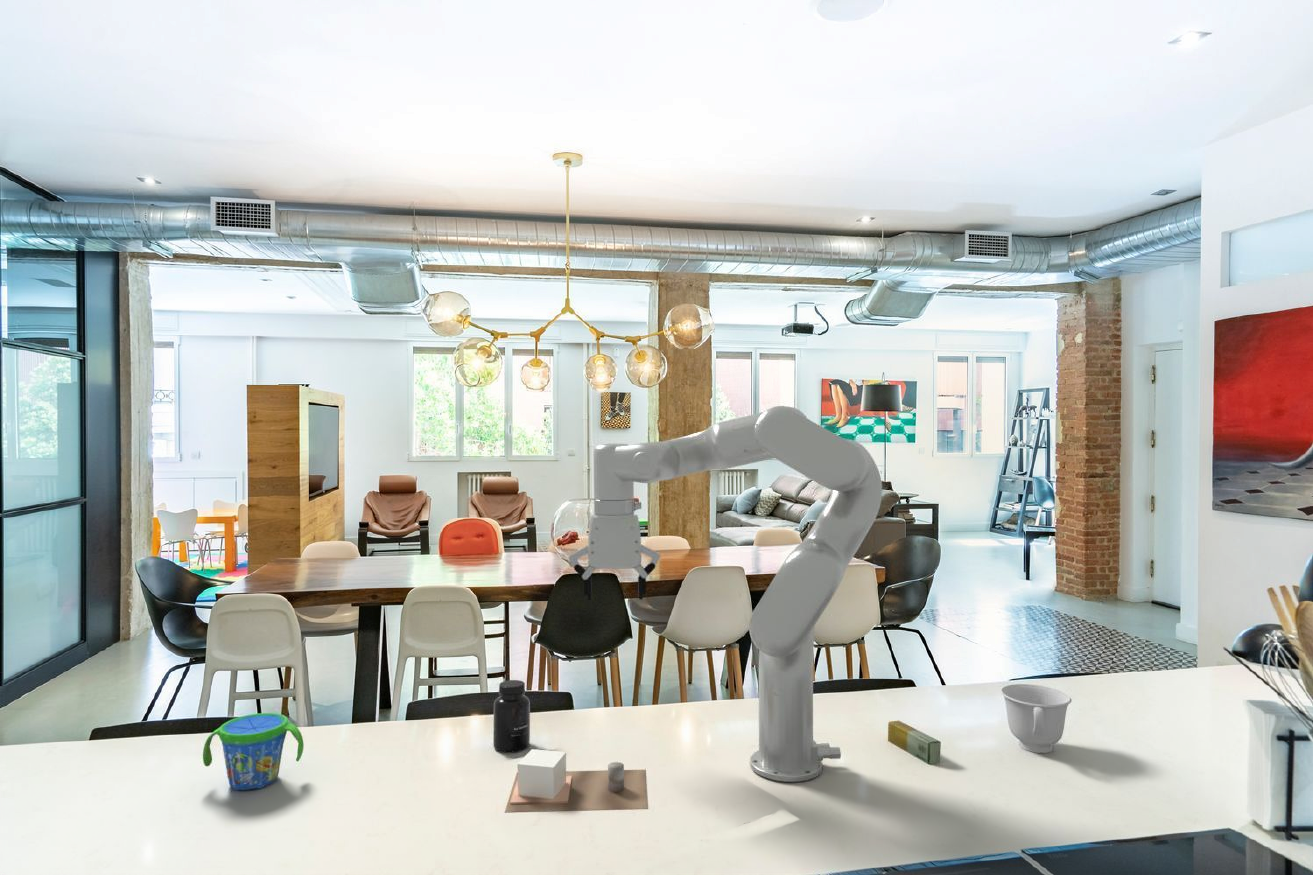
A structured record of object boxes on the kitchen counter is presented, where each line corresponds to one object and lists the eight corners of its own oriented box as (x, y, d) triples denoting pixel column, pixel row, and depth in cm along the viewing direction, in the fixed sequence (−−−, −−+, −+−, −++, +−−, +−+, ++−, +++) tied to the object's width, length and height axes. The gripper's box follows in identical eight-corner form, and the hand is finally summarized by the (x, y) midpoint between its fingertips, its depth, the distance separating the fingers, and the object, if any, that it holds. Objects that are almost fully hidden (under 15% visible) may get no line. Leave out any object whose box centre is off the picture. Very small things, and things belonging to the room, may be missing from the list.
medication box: (941, 763, 141) (942, 741, 141) (929, 765, 140) (929, 743, 140) (898, 739, 152) (898, 718, 152) (886, 741, 151) (886, 720, 151)
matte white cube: (566, 782, 130) (566, 752, 130) (553, 798, 124) (553, 767, 124) (532, 778, 131) (531, 748, 131) (517, 795, 125) (517, 763, 125)
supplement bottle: (522, 755, 145) (521, 690, 145) (487, 752, 147) (487, 688, 146) (535, 740, 152) (534, 678, 152) (502, 738, 153) (501, 676, 153)
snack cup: (313, 767, 140) (312, 711, 140) (287, 795, 130) (287, 733, 130) (223, 770, 139) (222, 712, 139) (190, 797, 129) (190, 735, 129)
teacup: (1002, 760, 142) (1001, 705, 142) (999, 731, 155) (999, 680, 155) (1077, 771, 137) (1077, 714, 137) (1068, 739, 151) (1067, 688, 151)
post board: (645, 778, 135) (645, 747, 135) (648, 818, 121) (647, 784, 121) (517, 781, 134) (516, 750, 134) (504, 821, 120) (504, 787, 120)
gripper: (658, 506, 153) (659, 593, 153) (569, 507, 152) (570, 595, 152) (660, 509, 146) (661, 601, 146) (567, 511, 145) (568, 604, 145)
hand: (615, 598), depth 149 cm, fingers open, 9 cm apart
